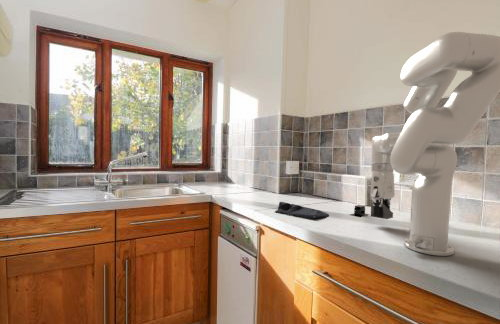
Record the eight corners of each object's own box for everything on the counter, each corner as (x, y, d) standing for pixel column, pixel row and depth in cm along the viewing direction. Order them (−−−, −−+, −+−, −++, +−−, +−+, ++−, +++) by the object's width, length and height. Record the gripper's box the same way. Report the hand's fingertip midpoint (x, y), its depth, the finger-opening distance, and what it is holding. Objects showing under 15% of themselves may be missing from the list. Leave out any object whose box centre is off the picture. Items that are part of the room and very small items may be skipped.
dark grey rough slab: (313, 222, 108) (313, 211, 108) (271, 212, 123) (271, 202, 123) (332, 216, 119) (332, 206, 118) (291, 208, 134) (291, 198, 134)
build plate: (359, 212, 128) (359, 203, 128) (374, 215, 123) (374, 205, 122) (344, 216, 121) (345, 206, 120) (360, 219, 115) (360, 209, 115)
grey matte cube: (387, 219, 98) (387, 206, 98) (370, 216, 103) (370, 204, 103) (393, 217, 101) (393, 205, 101) (376, 215, 106) (377, 203, 106)
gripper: (382, 168, 94) (381, 220, 93) (402, 168, 104) (401, 215, 104) (361, 168, 99) (360, 217, 99) (382, 168, 110) (381, 212, 110)
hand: (381, 215), depth 102 cm, fingers closed on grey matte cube, 5 cm apart
